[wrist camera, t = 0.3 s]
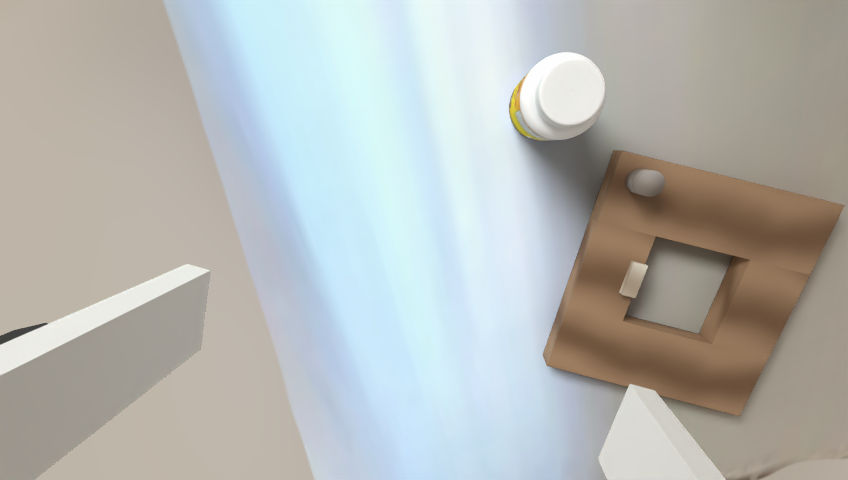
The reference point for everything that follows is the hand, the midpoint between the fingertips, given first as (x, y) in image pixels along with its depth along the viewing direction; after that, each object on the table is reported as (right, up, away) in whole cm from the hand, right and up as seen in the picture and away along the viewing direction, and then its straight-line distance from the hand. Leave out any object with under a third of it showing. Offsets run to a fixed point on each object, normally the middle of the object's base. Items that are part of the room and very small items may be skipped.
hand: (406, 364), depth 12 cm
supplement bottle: (+10, +15, +22) cm, 29 cm away
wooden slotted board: (+23, 0, +25) cm, 34 cm away
